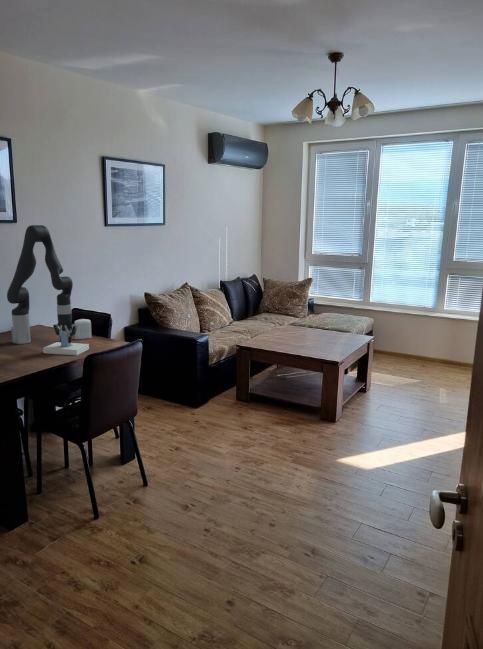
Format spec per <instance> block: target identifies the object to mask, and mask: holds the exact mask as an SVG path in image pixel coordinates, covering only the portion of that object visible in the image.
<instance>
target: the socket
mask: <svg viewBox="0 0 483 649" xmlns="http://www.w3.org/2000/svg"><path fill="white" fill-rule="evenodd" d="M71 345H72V346H70V347H61V342H60V341H58V342H57V341H56V342H54V343H52V344H49V345H47V346H44V347H42V348H43V349H42V351H43V352H42V353H43V354H52V355H53V354H54V355H67V356H69V355H70V356H78V355H81V354H82V353H84V352H85V351H88V350H90V344H89V343H79V342H78V343H77V342H71Z"/></svg>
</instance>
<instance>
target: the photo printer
mask: <svg viewBox="0 0 483 649" xmlns="http://www.w3.org/2000/svg"><path fill="white" fill-rule="evenodd" d="M73 325H77V330H76V333H75V335H74V340H85V339H92V322H91V320H90V319H87V318H86V319H85V318H80V319H77V320H74V323H73Z"/></svg>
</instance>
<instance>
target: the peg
mask: <svg viewBox="0 0 483 649" xmlns="http://www.w3.org/2000/svg"><path fill="white" fill-rule="evenodd" d="M68 337H69V336H68V334H67V332H64V333H62V334H61V347H70V346H72V345H71V343H72V342H71V343H68Z"/></svg>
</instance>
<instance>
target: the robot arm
mask: <svg viewBox="0 0 483 649" xmlns="http://www.w3.org/2000/svg"><path fill="white" fill-rule="evenodd" d="M36 243H42V245H43V246H44V249H45V254H44V263H45V266H46V267H47V269H48V272H49V275H50V278H51V279H50V280H51V284H52V286H53V288H54V289H55V290H57V291H61V293H59V294H57V296H56V310H57V311H56V314H57V323H56V324H53V325H52V326H53V329H54V332H55V335H57V336H59V342H61V334H62V333H67V334H68V336H69V337H68V343H73V336H75V333H76V330H77V325H74V323H73V321H72V320H73V315H72V312H73V311H72V306H71V304H72V302H71V295H72V290H73V285H74V284H73V280H72V278H71V277H69V276H60V275H61V274H62V273H63V272H64V268H63V267H62V264H61V262H60V260H59V258H58V255H57V252H56V250H55V246H54V244H53V239H52V237H51V234H50V231H49V229H48V228H47V226H45V225H39V224H38V225H37V224H36V225H34V224H31V225H29V226H28V227H26V230H25V234H24V238H23V243H22V248H21V252H20V256H19V258H18V262H17V265H16V269H15V272H14V275H13V278H12V281H11V283H10V284H9V288H8V290H7V293H6V299H7V301H8V303H10V304H13V305H14V304H18V305H17V306H16V307H14V308H13V309H11V318H12V320H11V322H12V326H11V329H10V330H11V340H12V344H17V345H23V344H29V343H31V340H32V339H31V327H30V326H31V325H30V315H29V314H30V313H29V311H30V293H29V290H28V288H26V287H23V285H24V284H25V282H27V280H29V279H30V278H31V276H32V275H33V274H34V272H35V269H36V266H37V259H36V256H35V253H34V247H35V245H36Z"/></svg>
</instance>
